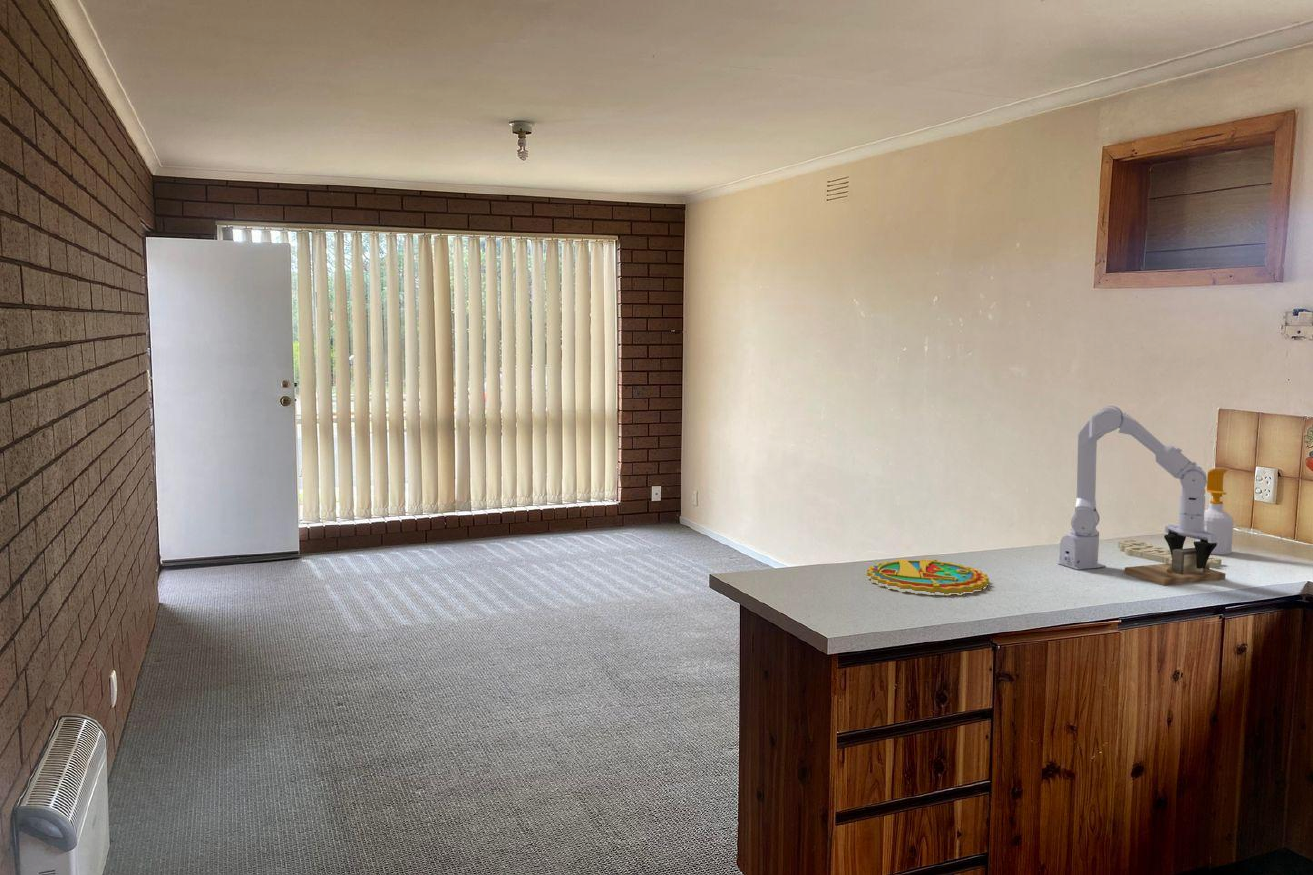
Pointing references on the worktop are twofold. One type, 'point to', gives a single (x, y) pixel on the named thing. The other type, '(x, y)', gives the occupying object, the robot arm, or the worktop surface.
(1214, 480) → the soap bottle
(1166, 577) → the board
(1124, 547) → the decorative sign
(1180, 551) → the metal block
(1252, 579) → the worktop surface
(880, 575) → the decorative plaque
